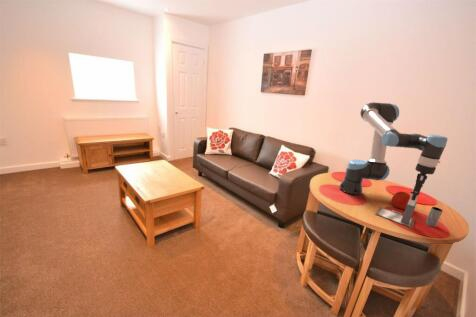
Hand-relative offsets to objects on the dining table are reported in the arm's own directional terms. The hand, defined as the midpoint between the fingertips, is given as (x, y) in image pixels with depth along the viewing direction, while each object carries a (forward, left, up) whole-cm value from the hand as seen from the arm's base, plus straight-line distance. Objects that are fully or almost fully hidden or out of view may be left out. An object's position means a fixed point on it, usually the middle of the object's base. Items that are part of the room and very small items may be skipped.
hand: (412, 200), depth 115 cm
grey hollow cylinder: (+11, +11, -14) cm, 21 cm away
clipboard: (-5, +3, -14) cm, 15 cm away
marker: (0, 0, -14) cm, 14 cm away
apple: (-5, +22, -14) cm, 26 cm away
